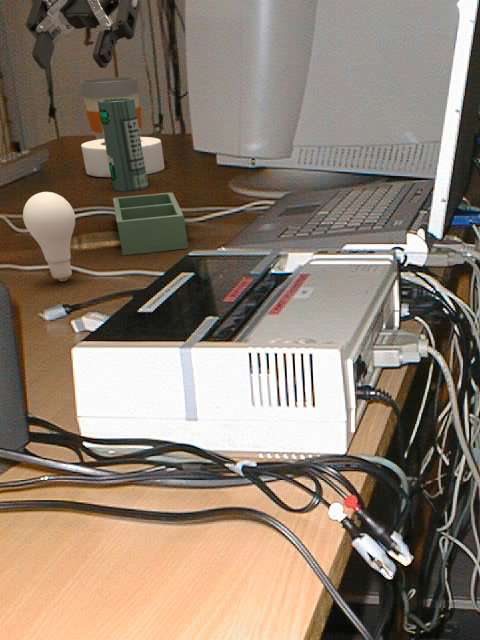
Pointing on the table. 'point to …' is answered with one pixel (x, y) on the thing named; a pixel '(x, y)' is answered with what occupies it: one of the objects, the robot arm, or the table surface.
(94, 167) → the tape roll
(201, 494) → the table surface
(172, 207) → the rack
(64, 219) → the lightbulb
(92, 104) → the reusable coffee cup
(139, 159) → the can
